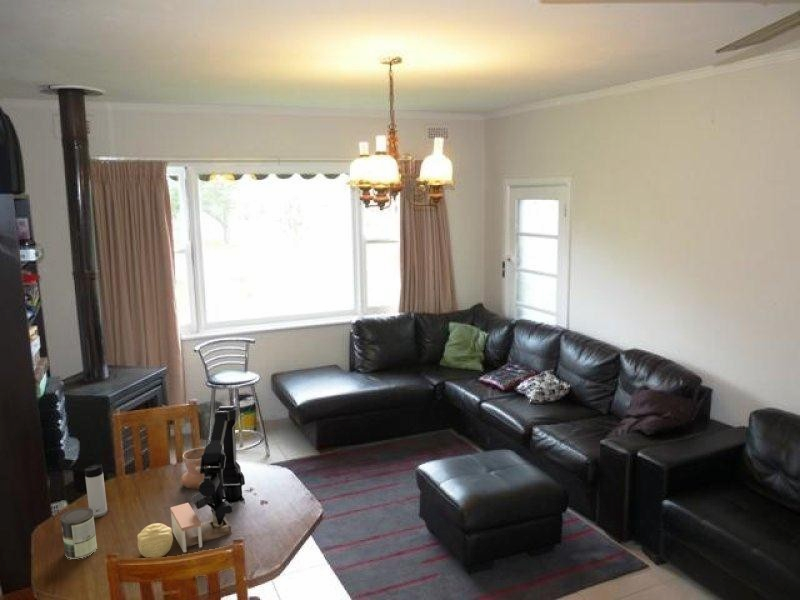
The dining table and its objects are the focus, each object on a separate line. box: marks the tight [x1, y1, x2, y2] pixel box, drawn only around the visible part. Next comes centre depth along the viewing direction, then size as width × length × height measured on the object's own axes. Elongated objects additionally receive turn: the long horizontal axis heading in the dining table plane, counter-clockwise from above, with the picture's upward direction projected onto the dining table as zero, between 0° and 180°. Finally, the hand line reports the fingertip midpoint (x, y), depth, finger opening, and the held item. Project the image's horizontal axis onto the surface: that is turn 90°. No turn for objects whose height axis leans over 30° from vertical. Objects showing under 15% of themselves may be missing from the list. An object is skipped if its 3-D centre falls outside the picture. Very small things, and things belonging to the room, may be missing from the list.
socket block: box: [185, 516, 233, 548], centre depth 234 cm, size 16×8×3 cm, turn 122°
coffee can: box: [60, 507, 98, 560], centre depth 224 cm, size 10×10×14 cm
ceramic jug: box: [181, 447, 210, 490], centre depth 273 cm, size 18×14×14 cm
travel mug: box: [84, 463, 108, 518], centre depth 249 cm, size 6×7×20 cm
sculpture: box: [136, 522, 174, 559], centre depth 222 cm, size 11×12×11 cm
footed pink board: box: [169, 502, 203, 553], centre depth 231 cm, size 6×17×10 cm, turn 32°
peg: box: [211, 509, 223, 529], centre depth 236 cm, size 4×4×8 cm
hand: (218, 522), depth 236 cm, fingers closed on peg, 3 cm apart
